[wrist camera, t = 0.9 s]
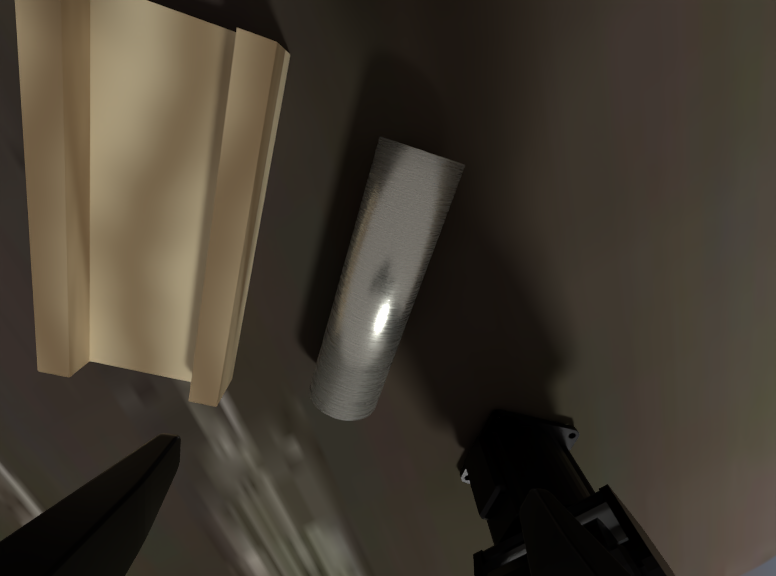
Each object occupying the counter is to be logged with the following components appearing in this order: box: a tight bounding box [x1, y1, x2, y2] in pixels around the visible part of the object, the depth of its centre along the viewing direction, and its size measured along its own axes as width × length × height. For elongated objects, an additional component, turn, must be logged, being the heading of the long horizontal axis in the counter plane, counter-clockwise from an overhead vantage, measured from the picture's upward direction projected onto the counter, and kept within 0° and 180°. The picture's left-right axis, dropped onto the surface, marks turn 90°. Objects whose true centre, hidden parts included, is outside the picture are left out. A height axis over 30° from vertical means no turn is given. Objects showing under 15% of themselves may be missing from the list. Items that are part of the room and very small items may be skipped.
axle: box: [309, 136, 465, 421], centre depth 19 cm, size 14×4×4 cm, turn 163°
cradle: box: [15, 0, 290, 407], centre depth 18 cm, size 9×18×2 cm, turn 163°
